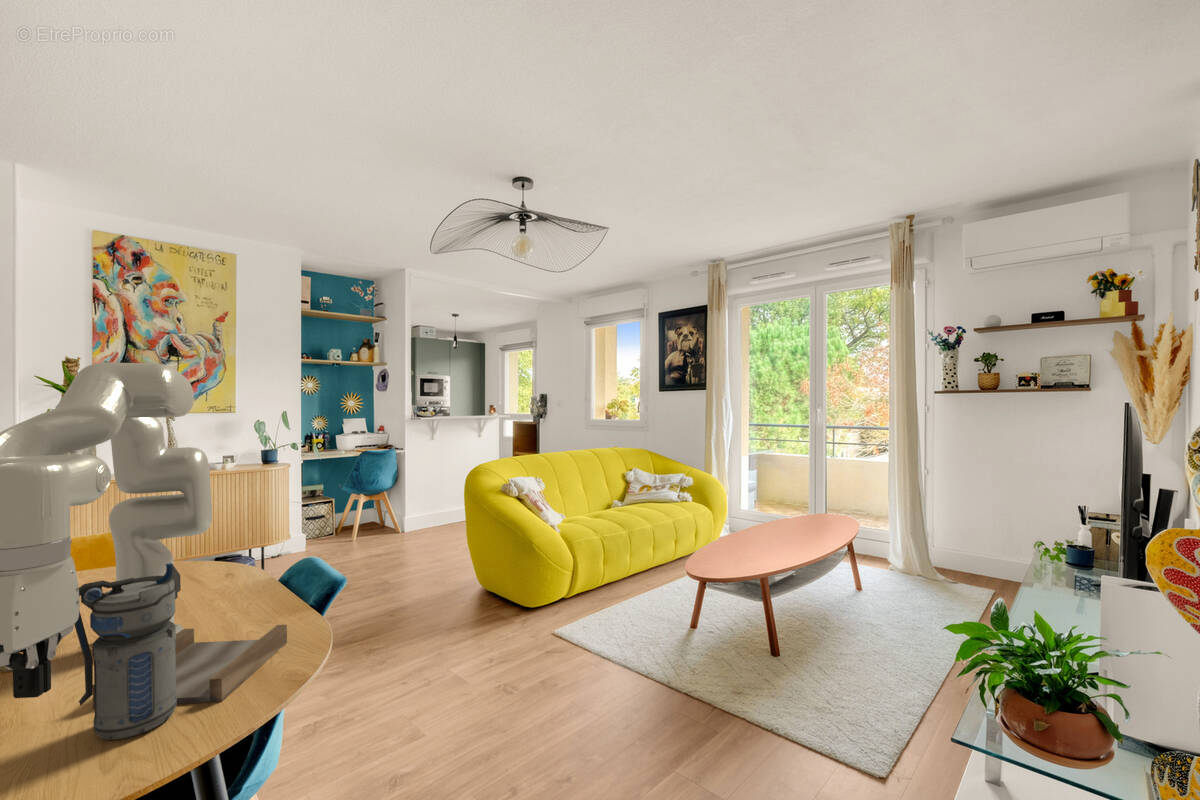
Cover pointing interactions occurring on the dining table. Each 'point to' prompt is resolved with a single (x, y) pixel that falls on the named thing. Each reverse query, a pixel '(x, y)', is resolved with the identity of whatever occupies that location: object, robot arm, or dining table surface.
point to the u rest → (219, 664)
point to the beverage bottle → (131, 653)
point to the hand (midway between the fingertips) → (32, 694)
